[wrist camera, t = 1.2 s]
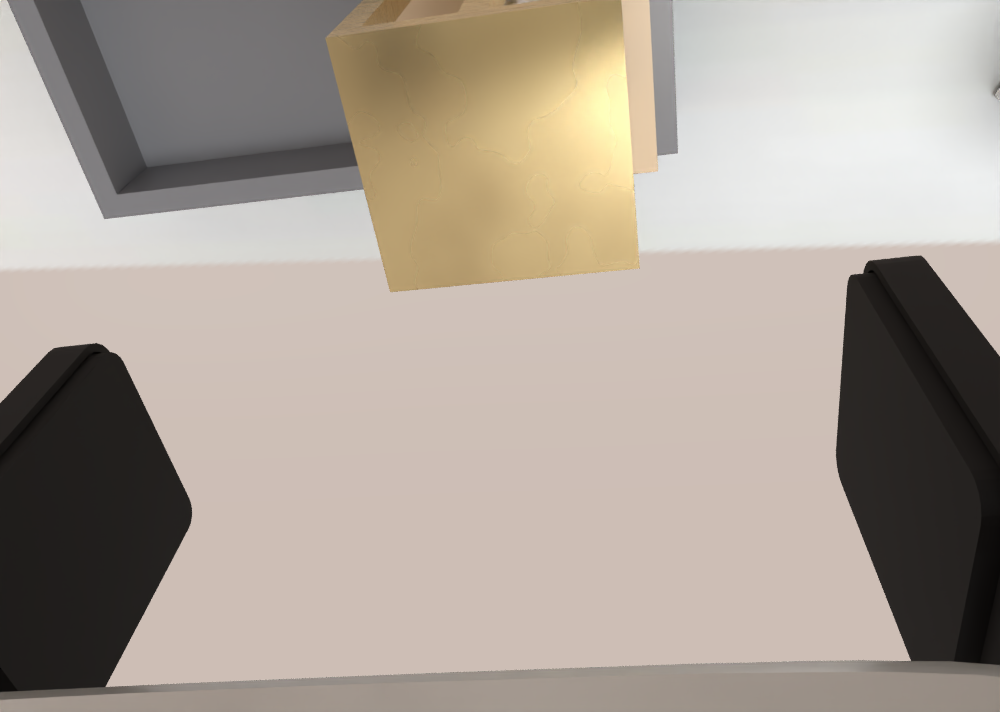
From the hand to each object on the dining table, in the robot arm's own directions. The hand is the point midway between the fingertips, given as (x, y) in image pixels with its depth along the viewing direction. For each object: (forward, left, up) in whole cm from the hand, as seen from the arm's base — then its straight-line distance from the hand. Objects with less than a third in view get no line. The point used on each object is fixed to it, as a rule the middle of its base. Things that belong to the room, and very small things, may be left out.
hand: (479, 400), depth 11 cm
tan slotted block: (0, -1, -19) cm, 19 cm away
